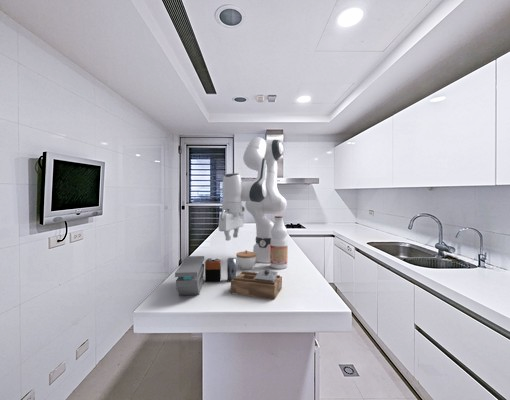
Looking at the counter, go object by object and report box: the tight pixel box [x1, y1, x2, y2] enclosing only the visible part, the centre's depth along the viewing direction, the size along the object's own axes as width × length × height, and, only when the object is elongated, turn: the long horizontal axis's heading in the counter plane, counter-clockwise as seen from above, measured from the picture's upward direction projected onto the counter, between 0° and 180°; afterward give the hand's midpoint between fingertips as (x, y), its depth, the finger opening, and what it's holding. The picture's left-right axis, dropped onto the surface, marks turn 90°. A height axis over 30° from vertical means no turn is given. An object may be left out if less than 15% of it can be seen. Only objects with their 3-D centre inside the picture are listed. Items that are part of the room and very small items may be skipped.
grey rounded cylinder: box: [226, 257, 237, 283], centre depth 115 cm, size 4×4×10 cm
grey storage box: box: [174, 255, 205, 296], centre depth 104 cm, size 25×8×11 cm, turn 5°
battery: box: [204, 257, 222, 283], centre depth 115 cm, size 4×7×10 cm, turn 93°
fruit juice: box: [269, 215, 289, 270], centre depth 138 cm, size 9×9×28 cm
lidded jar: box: [235, 249, 256, 270], centre depth 135 cm, size 11×11×9 cm
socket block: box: [230, 270, 283, 300], centre depth 103 cm, size 12×18×6 cm, turn 71°
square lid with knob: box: [256, 269, 278, 282], centre depth 101 cm, size 7×7×4 cm
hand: (231, 238), depth 115 cm, fingers open, 7 cm apart
